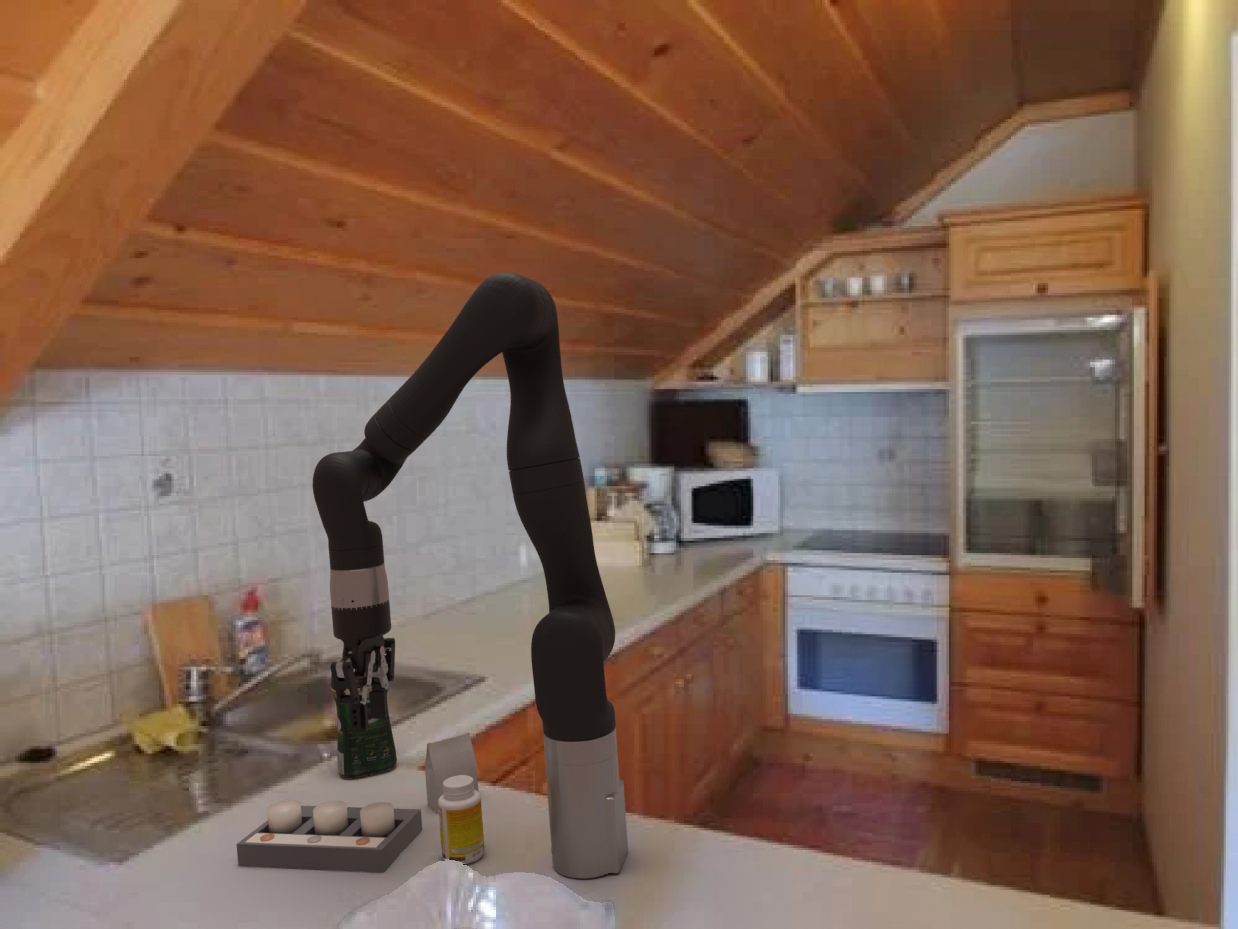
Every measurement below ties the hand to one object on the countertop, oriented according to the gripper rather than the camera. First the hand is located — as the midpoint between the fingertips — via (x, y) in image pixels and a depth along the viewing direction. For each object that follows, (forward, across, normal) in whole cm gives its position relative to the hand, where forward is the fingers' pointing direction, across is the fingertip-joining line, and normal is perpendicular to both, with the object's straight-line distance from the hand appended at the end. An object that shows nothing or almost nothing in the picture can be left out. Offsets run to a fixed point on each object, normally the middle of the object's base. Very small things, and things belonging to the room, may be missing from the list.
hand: (370, 723), depth 122 cm
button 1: (+15, 0, +14) cm, 20 cm away
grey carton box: (+18, +15, -4) cm, 24 cm away
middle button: (+15, 0, +7) cm, 16 cm away
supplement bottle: (+18, -1, -12) cm, 22 cm away
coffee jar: (+18, +27, +16) cm, 36 cm away
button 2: (+15, 0, 0) cm, 15 cm away
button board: (+17, 0, +7) cm, 19 cm away
